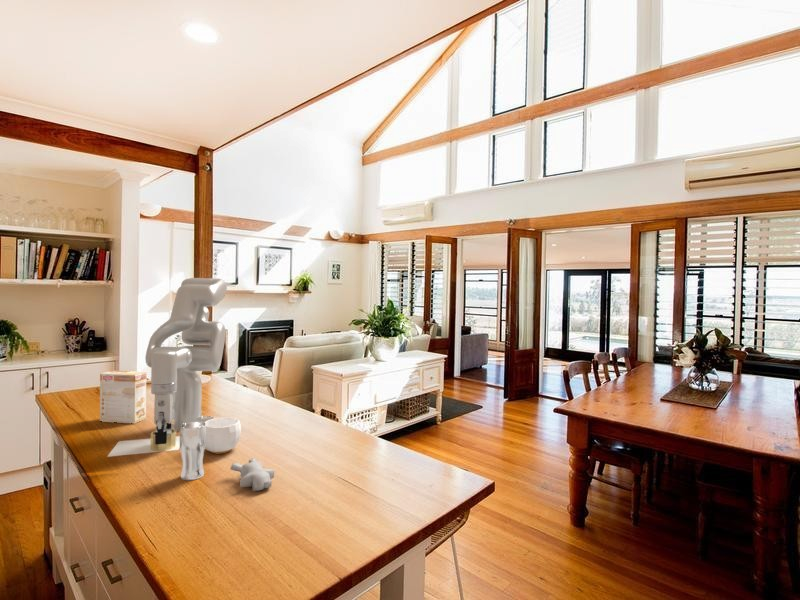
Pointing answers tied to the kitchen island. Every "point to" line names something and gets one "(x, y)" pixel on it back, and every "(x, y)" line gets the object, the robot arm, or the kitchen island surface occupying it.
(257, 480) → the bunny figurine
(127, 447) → the stand
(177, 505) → the kitchen island surface
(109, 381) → the coffeecake box
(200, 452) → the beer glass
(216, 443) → the cup
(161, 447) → the brass ring
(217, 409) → the kitchen island surface
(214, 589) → the kitchen island surface
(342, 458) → the kitchen island surface
